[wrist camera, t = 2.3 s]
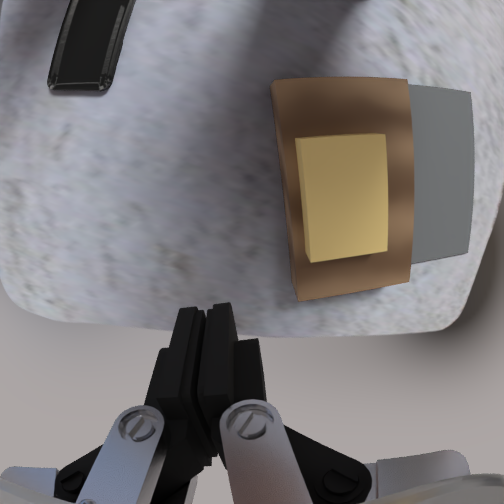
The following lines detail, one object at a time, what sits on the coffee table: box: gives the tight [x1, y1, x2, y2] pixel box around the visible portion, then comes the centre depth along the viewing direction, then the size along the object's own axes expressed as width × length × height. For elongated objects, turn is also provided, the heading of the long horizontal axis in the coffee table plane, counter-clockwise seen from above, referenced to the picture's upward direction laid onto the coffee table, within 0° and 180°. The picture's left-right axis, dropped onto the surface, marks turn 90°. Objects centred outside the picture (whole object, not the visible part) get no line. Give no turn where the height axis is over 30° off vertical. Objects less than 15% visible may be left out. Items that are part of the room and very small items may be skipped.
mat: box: [408, 84, 474, 264], centre depth 29 cm, size 20×11×1 cm, turn 7°
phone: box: [47, 0, 136, 91], centre depth 21 cm, size 8×1×15 cm
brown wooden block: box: [270, 77, 414, 302], centre depth 27 cm, size 20×12×4 cm, turn 7°
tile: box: [295, 133, 388, 263], centre depth 24 cm, size 10×7×2 cm
